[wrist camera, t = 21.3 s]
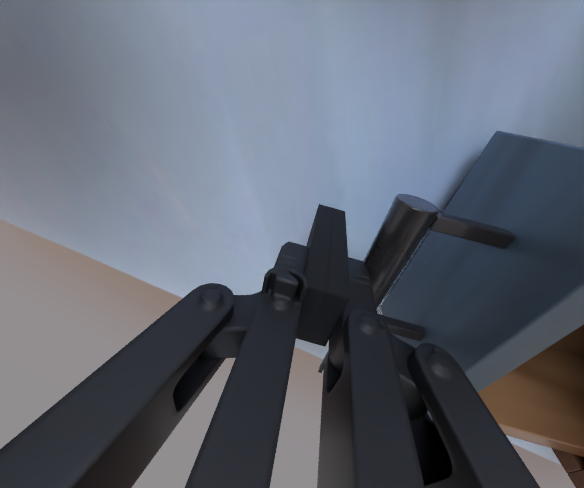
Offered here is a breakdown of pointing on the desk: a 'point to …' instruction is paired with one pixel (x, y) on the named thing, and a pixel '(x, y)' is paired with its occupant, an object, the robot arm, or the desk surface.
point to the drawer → (499, 284)
